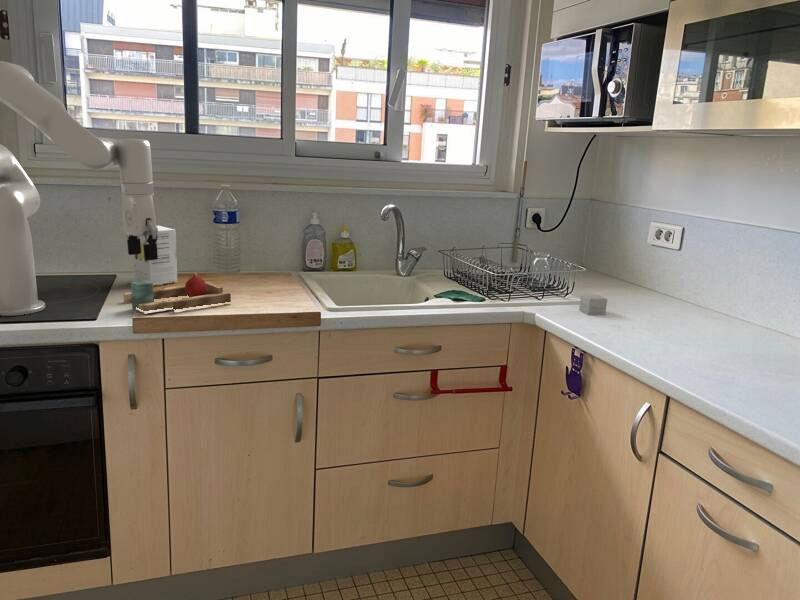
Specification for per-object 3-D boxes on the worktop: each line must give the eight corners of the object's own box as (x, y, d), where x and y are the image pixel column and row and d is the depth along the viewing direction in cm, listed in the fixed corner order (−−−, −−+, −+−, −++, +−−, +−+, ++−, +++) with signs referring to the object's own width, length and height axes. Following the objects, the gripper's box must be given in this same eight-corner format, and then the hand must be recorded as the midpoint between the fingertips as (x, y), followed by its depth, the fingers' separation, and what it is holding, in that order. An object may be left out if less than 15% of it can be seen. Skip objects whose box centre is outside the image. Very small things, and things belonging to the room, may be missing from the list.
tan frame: (145, 314, 165) (143, 287, 163) (129, 306, 172) (127, 280, 170) (224, 301, 181) (223, 277, 179) (207, 295, 187) (206, 271, 185)
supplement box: (134, 281, 199) (131, 227, 195) (161, 277, 206) (159, 224, 202) (150, 287, 194) (147, 231, 189) (178, 283, 200) (176, 228, 196)
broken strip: (126, 303, 175) (125, 294, 175) (124, 302, 176) (123, 293, 176) (198, 292, 190) (198, 284, 189) (195, 291, 191) (195, 283, 190)
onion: (184, 299, 182) (183, 271, 180) (205, 298, 185) (204, 270, 183) (186, 304, 177) (185, 275, 175) (208, 303, 179) (207, 274, 178)
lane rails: (175, 313, 168) (175, 302, 168) (151, 301, 178) (151, 291, 177) (230, 304, 179) (230, 293, 179) (205, 293, 189) (204, 283, 188)
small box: (605, 315, 187) (608, 298, 186) (587, 315, 186) (589, 298, 184) (596, 310, 192) (598, 293, 191) (578, 310, 191) (580, 294, 190)
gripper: (108, 187, 166) (114, 253, 171) (137, 193, 154) (143, 264, 159) (137, 186, 171) (142, 250, 176) (167, 191, 159) (172, 260, 164)
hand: (142, 256), depth 167 cm, fingers open, 9 cm apart
